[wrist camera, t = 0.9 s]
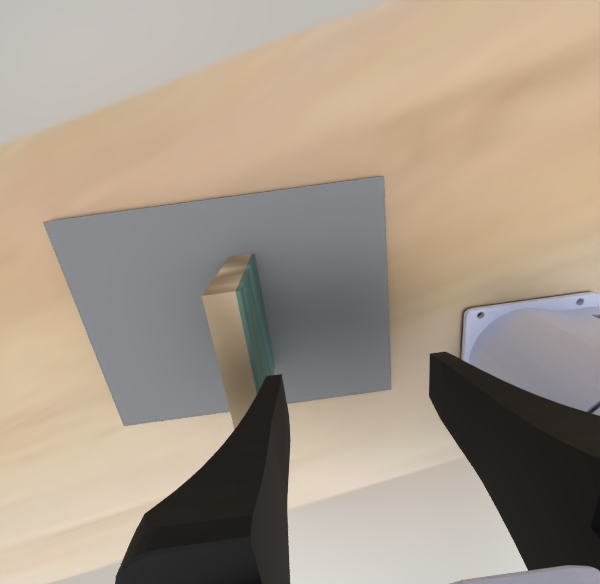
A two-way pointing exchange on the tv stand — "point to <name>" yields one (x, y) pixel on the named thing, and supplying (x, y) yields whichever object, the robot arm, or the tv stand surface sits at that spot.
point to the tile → (239, 331)
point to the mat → (200, 273)
